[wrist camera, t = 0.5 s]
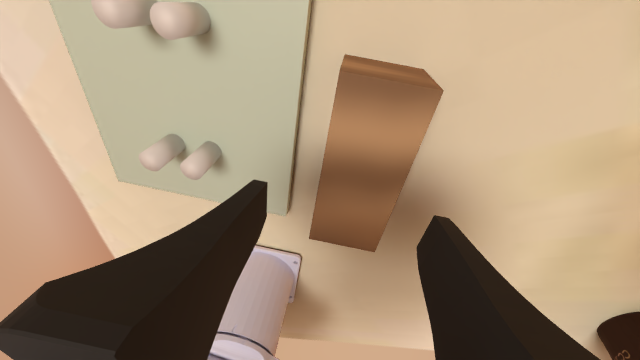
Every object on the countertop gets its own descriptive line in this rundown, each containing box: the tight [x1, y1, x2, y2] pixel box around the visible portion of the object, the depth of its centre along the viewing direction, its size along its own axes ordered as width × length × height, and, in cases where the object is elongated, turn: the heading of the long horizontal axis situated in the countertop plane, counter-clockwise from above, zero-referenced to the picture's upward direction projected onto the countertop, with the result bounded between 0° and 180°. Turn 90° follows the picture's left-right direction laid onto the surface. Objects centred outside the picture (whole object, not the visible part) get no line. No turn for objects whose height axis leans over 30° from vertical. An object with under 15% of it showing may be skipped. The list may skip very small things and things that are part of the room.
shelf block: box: [309, 55, 444, 252], centre depth 18 cm, size 12×5×5 cm, turn 171°
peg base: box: [49, 0, 312, 216], centre depth 17 cm, size 20×16×4 cm
